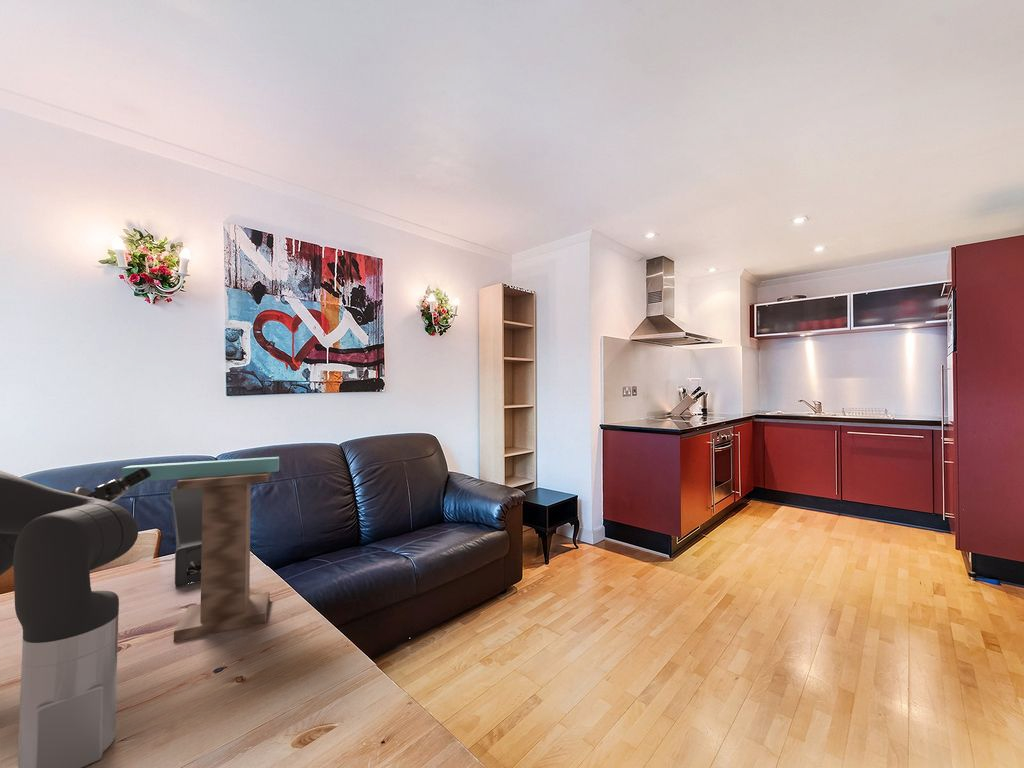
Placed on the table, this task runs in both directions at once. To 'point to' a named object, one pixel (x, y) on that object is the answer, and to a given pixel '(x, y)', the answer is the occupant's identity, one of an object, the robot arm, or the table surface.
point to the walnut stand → (224, 558)
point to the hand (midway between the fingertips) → (155, 468)
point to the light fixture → (187, 534)
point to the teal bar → (206, 468)
